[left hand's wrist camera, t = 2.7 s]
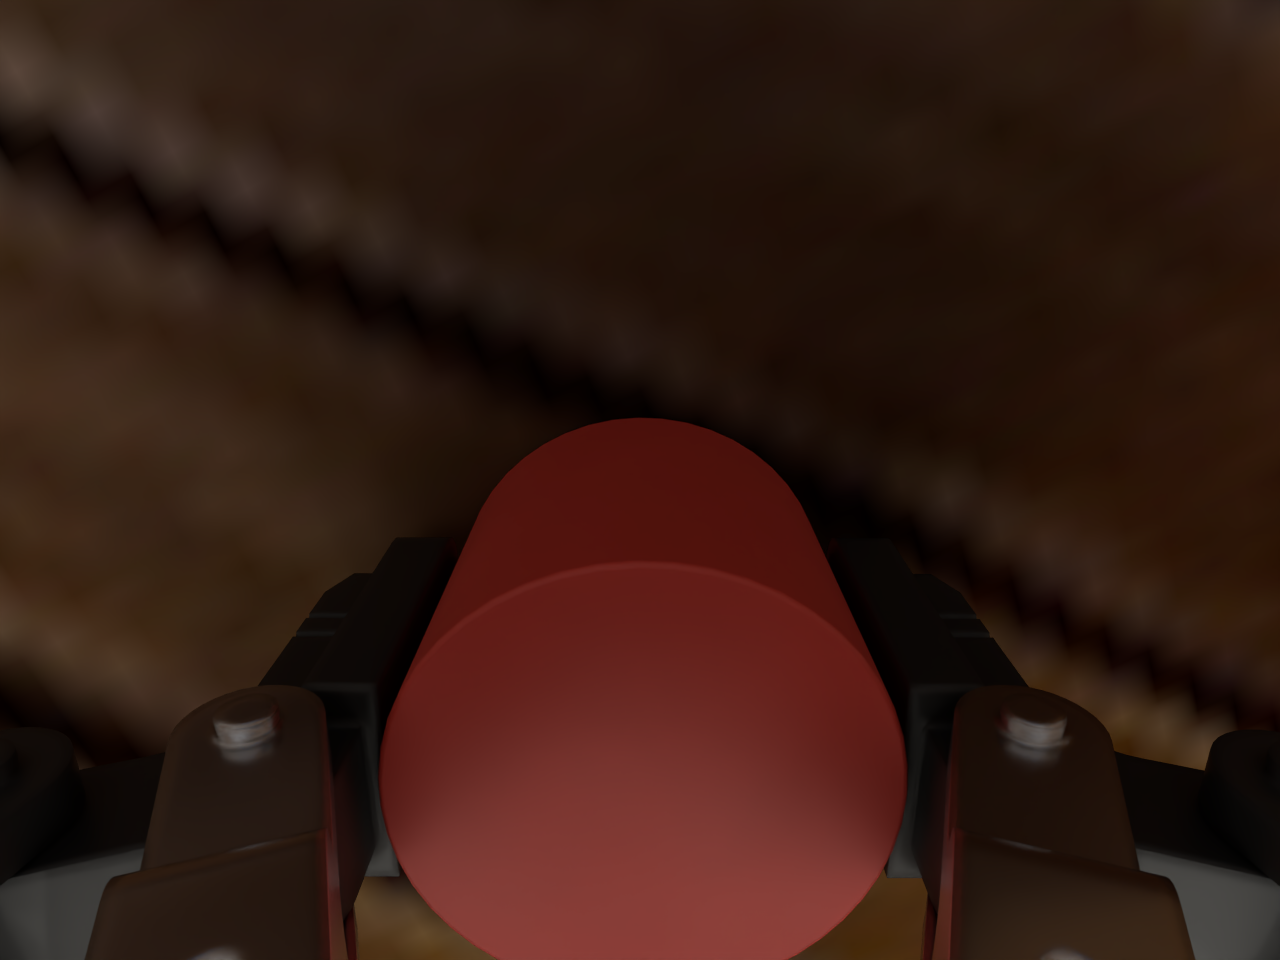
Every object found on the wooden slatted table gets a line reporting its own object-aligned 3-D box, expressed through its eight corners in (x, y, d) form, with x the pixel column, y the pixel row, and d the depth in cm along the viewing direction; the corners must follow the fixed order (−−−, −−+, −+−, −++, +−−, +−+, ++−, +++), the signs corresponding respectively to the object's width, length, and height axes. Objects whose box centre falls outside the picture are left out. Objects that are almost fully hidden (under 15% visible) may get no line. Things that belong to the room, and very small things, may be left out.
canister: (735, 775, 13) (776, 1048, 9) (421, 674, 13) (319, 919, 9) (880, 492, 12) (1007, 671, 8) (530, 361, 11) (467, 481, 7)
